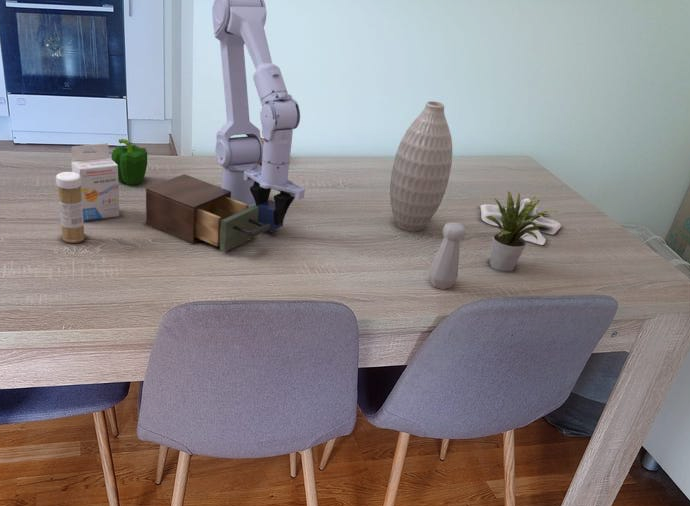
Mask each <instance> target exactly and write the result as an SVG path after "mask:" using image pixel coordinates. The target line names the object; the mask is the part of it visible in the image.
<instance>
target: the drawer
mask: <svg viewBox="0 0 690 506" xmlns="http://www.w3.org/2000/svg"><path fill="white" fill-rule="evenodd" d="M248 206H249V205H248V204H245V203H243V202H240V201H237V200H235V199H232V198H229V197H227V196H225V197H223V198H220V199H218V200H216V201H213V202H211V203H209V204H206V205H204V206H201V207H199V208H197V209H196V213H195V237H196V238H198V239H200V241H203V242H205V243H208V244H210V245H212V246H215V247H219V250H220V251H222V252H223V253H225V252H227V251H229V250H231V249H233V248H236V247H237V246H239V245H241V244H243V243H245V242H247V241H249V240H251V239H253V238H255V237H258V236H259V235H261V234H263V233H265V232H268V230H269V229H270V228H271V225H270V224H269V223H266V224H263V223H261V222H258V212H259V207H258V206H255V205H254V206H252V207H249V208H248ZM257 225H258V226H260V227H258V226H257Z"/></svg>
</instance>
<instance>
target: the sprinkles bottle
mask: <svg viewBox="0 0 690 506" xmlns="http://www.w3.org/2000/svg"><path fill="white" fill-rule="evenodd" d="M55 183H56V186H57V191H58V205H59V206H58V207H59V217H60V225H61V234H62V236H61V239H62V240H63V241H64V242H66V243H70V244H72V243H73V244H75V243H80V242H83V241H84V240H85V238H86V235H85V227H84V221H83V210H82V198H81V176H80V175H79V174H78V173H75V172H72V171H62V172H59V173H57V175H56V176H55Z"/></svg>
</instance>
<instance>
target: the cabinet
mask: <svg viewBox="0 0 690 506" xmlns="http://www.w3.org/2000/svg"><path fill="white" fill-rule="evenodd" d="M225 196H227V197H229V198H231V191H228V190H226V189H223V188H222V187H220V186H219V185H218V186H217V185H215V184H213V183H209V182H207V181H204V180H202V179H199V178H196V177H193V176H191V175H189V174H185V173H184V174H181V175H179V176H175V177H173V178H170V179H166V180H165V181H161V182H159V183H155V184H153V185H151V186H148V187H146V188H145V216H146V217H145V218H146V220H145V221H146V225H148V226H150V227H151V228H154V229H157V230H159V231H161V232H164V233H166V234H169V235H171V236H173V237H175V238H177V239H180V240H183V241H186V242H187V243H190V244H193V245H194V244H196V243H198V242H200V241H201V240H200V239H198V238H196V237H195V213H196V209H197V208H199V207H201V206H204V205H206V204H209V203H211V202H213V201H216V200H218V199H220V198H223V197H225Z"/></svg>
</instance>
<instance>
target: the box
mask: <svg viewBox="0 0 690 506" xmlns="http://www.w3.org/2000/svg"><path fill="white" fill-rule="evenodd" d="M258 207H259V212H258V222H261V223H263V224H266V223H269V224H270V225H271V228H270V229H269V230H267V232H270V233H272V232H274V231H276V230H278V229H280V228H282V227H283V226H284V222H283V223H281V224H279V225H275V201H274V199H268V201H266V202H264V203H262V204H260V205H259V206H258ZM257 227H260V226H258V225H257Z"/></svg>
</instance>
